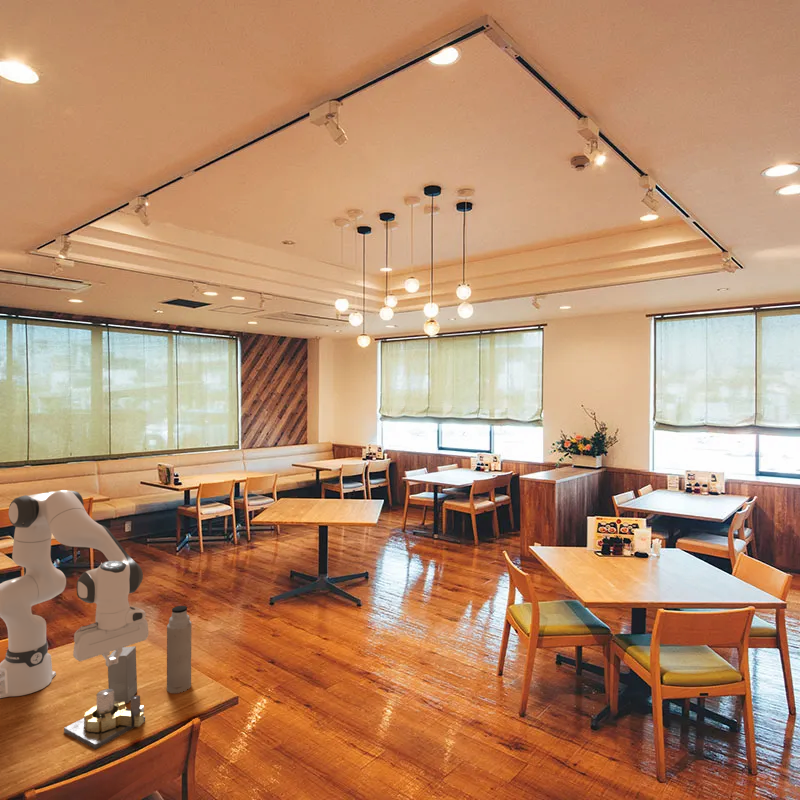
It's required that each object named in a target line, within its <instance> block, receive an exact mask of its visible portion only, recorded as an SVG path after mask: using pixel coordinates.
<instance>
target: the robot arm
mask: <svg viewBox="0 0 800 800" xmlns="http://www.w3.org/2000/svg"><path fill="white" fill-rule="evenodd" d="M84 504H85V503H84V498H83V496H82V494H80V493H79V492H78V491H75V490H69V489H68V490H67V489H61V490H56V491H46V492H40V493H35V494H30V495H26V494H25V495H21V496H18V497H15V498H13V500H12V501H11V502H10V504H9V506H8V519H9V522H10V524H12V525H13V527H15V529H14V534H13V543H12V544H13V545H12V553H11V554H12V556H11V559H12V560H13V562H14V564H16V565H17V566H19V567H21V568H22V567H23V568H25V574H24V575H21V576H19V577H15V578H12V579H8V580H5V581H2V582H1V583H0V619H2V621H3V622H4V623H5V625H6V628H7V639H8V644H7V645H8V647H6V648H5V657H4V659H3V660H2V661H1V662H0V699H3V698H8V697H20V696H26V695H29V694H32V693H35V692H38V691H40V690H42V689H44V688H46V687H47V686H49V685H50V684H51V683H52V681H53V678H54V677H56V675H57V673H56V671H54V670H53V664H52V663H53V662H52V655H51V654H50V653H49V652H48V651H49V649H48V648H49V644H48V640H47V622H46V620H45V618H44V617H43V616H40V615H38V614H33V612H32V607H33V606H36V605H38V604H42V603H44V602H47V601H50V600H51V599H54V598H55V597H58V595H60V594H63V592H64V591H65V588H66V586H67V577H66V575H65V574H64V572H63V571H62V570H60V569H59V568H57V567H56V566H55V565H54V563H53V562H52V558H51V548H52V536H53V538H54V539H55V540H56V541H57V542H58V543H60V544H61V545H64V546H67V547H75V548H76V547H77V548H78V547H79V548H89V549H95V550H98V551H99V552H101V553H103V555H104V557H105V558H106V559H107V560H108V561H104V562H103V563H101V564H99V566H98V567H97V568H92V569H89V570H86V571H84V572H83V573H81V575H80V576H79V578H78V579H77V582H76V596H77V598H78V599H80V600H81V601H83V602H85V603H87V604H96V607H95V608H96V609H95V622H93V623H90V624H88V625H82V626H80V627H79V628H78V629H77V630H76V631H75V632H74V634H73V642H74V646H73V651H72V653H73V654H72V655H73V658H74V659H75V660H76V661H78V662H83V661H86V660H89V659H91V658H95V657H98V656H102V658H103V659H104V660H105V666H106V667H107V668H108V666H111V665H114V664H117V663H118V658H119V656H120V654H121V653H122V648H123V647H130V646H131V645H134V644H137V643H141V642H143V641H146V640H147V639H148V637H149V624H148V620H147V619H146V617H147V612H146V611H145V610H144V609H142V608H140V607H138V606H133V605H131V606H130V603H129V595H130V594H133V593H135V592H136V591H137V590H138V589H139V587H140V586H141V584H142V582H143V579H144V574H143V573H144V572H143V570H142V568H141V566H140V565H139V563H138V562H136V561H135V560H134V559H133V558H132V557H131V556H130V555H129V553H127V551H126V550H125V549H124V547H123V546H122V545H121V543H120V542H119V541H118V539H117V538H116V536H114V534H113V533H112V532H111V531H110V530H109V528H108V527H106V526H105V525H102V524H100V523H98V522H97V521H96V520H94V519H93V518H92V517H91V516H90V515H89V514H88V512H87V510H86V509H85V507H84ZM115 650H116V652H115V654H114V657H111V658H109V657H108V656H110V655H111V654H110V652H111V653H112V652H113V651H115Z"/></svg>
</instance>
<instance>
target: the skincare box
mask: <svg viewBox="0 0 800 800" xmlns="http://www.w3.org/2000/svg"><path fill="white" fill-rule="evenodd" d="M115 652H116V650H114V651H111V654H110V655H107V656H108V657H109V658H111V657H114V654H115ZM137 673H138V672H137V646H126V647H123V648H122V653H121V654H120V656H119V658H118V663H117V664H114V665H111V666H108V667H107V679H108V681H107V682H108V683H107V685H108V686H107V687H108V689H113V690H114V702H125V704H129V703H130V702H131V697H133V696H136V693H137V692H138V678H137Z"/></svg>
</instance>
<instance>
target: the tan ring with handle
mask: <svg viewBox="0 0 800 800" xmlns="http://www.w3.org/2000/svg"><path fill="white" fill-rule="evenodd" d="M140 706H141V696H140V695H134V696H133V697H131V700H130V710H131V711H126V708H127V707H126V703H125V702H114V714H113V715H111V713H108V714H105V718H97V704H96V705H95V706H92V707H91V708H89V709H88V710H87V711H86V712H84V715H83V718H84V726H85V729H86V730H87V731H89V732H100V731H101V732H103V731H106V730H109V729H112V728H116V726H119V725H125V726H136V727H135V728H140V726H142V725H143V723H145V722H144V716H145V715H144V714H145V711H144V712H140Z"/></svg>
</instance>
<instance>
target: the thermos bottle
mask: <svg viewBox="0 0 800 800" xmlns="http://www.w3.org/2000/svg"><path fill="white" fill-rule="evenodd" d="M187 610H188V606H186V605H177V606H174V607H172V608H171V616H170V617H169V619H168V624H167V625H166V690H167V692H168V693H170V694H181V693H184V692H186V691H188V690H189V689H190V688H191V687H192V621H191V620H190V618H191V617H190V615H189V614H188V613H187V612H188V611H187ZM187 689H188V690H187ZM183 691H184V692H183ZM180 692H181V693H180Z"/></svg>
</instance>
